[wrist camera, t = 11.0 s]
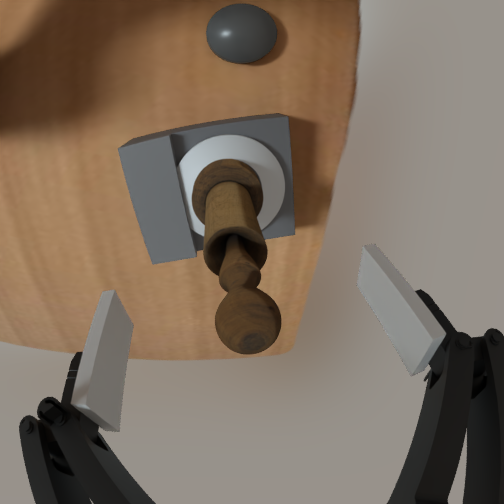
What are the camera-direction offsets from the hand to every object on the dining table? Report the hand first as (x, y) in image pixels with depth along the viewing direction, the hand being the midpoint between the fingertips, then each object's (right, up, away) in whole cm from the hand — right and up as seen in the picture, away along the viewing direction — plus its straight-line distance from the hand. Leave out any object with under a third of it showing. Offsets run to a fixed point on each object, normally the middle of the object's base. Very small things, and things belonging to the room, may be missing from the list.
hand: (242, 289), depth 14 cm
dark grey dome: (-1, +24, +8) cm, 25 cm away
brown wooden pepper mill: (-2, +8, +12) cm, 15 cm away
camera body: (-4, +10, +16) cm, 20 cm away
